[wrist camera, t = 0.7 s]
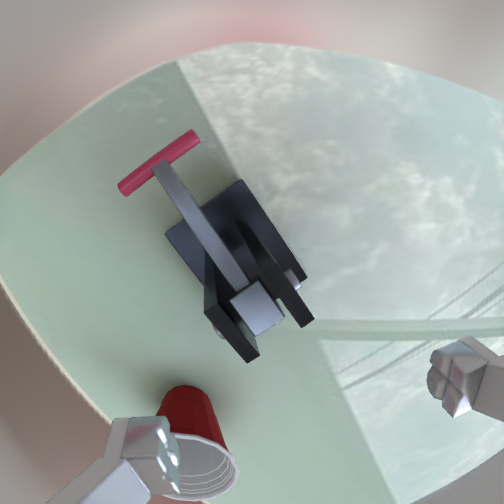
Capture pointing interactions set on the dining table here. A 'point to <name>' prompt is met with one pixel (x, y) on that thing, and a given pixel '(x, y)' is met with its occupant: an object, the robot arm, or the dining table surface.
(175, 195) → the lever
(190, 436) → the plastic cup
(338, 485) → the dining table surface
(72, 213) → the dining table surface
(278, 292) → the bracket
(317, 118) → the dining table surface
